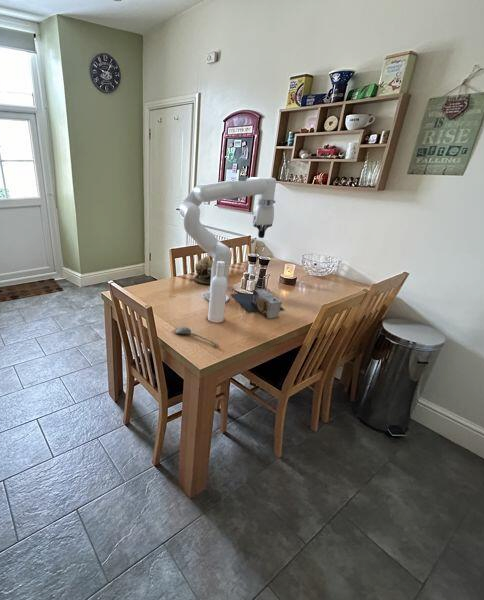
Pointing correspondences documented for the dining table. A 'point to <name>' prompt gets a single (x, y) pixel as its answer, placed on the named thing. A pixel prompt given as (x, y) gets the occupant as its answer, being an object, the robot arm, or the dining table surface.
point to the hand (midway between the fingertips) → (260, 237)
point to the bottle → (218, 295)
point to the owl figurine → (203, 271)
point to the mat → (246, 301)
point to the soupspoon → (188, 331)
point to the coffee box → (266, 303)
